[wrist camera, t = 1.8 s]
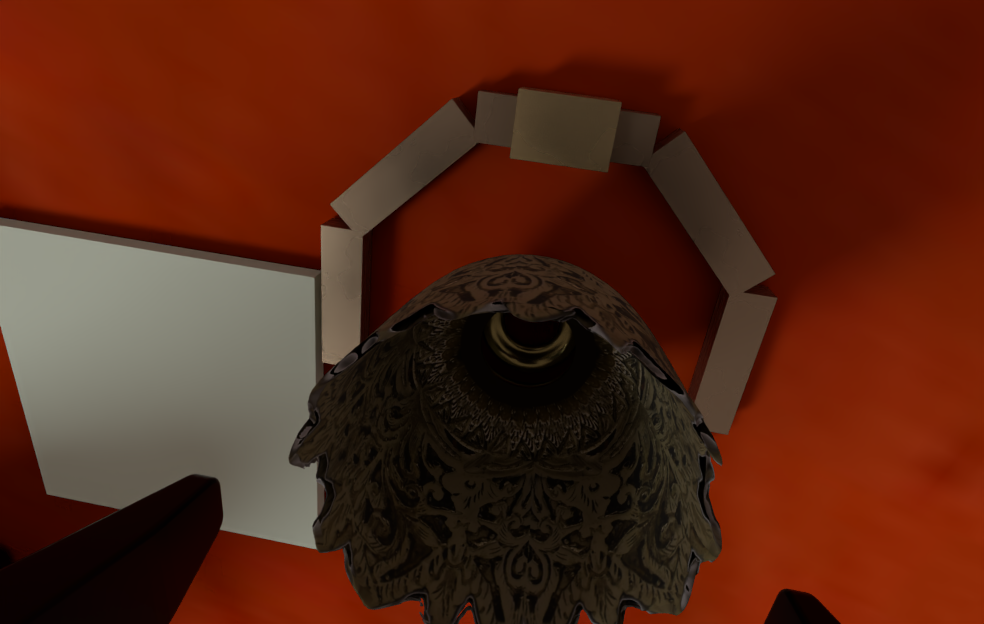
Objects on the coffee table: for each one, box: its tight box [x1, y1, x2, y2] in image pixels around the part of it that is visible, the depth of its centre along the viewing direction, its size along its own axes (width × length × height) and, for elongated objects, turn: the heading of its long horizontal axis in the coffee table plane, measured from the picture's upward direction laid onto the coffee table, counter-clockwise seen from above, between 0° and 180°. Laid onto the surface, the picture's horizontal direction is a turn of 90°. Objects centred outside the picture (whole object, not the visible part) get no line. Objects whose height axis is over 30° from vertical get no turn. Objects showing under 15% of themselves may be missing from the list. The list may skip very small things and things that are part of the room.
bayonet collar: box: [321, 87, 777, 435], centre depth 16 cm, size 13×12×1 cm
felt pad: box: [0, 218, 324, 549], centre depth 19 cm, size 11×11×1 cm
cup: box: [288, 254, 722, 624], centre depth 13 cm, size 8×7×8 cm
